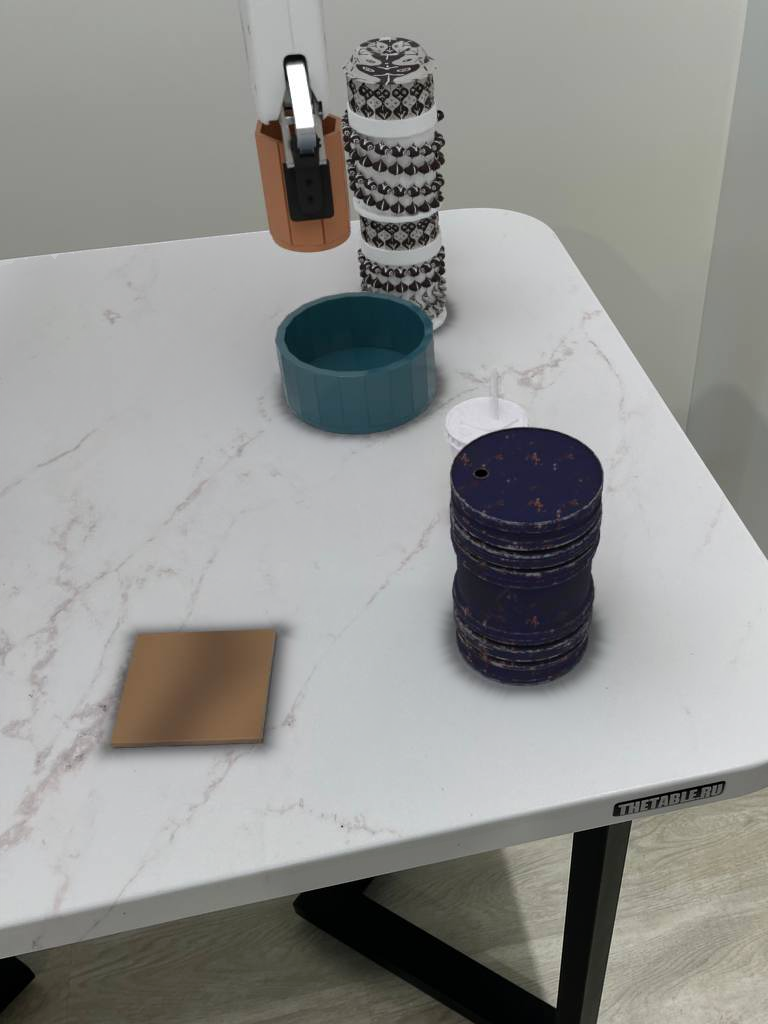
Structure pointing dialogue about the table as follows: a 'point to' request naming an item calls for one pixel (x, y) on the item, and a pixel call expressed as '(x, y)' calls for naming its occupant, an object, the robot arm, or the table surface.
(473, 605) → the navy ridged cylinder
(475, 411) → the smoothie
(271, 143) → the small pot
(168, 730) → the trivet
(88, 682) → the table surface
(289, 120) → the robot arm
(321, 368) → the big pot
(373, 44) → the decorative candle
